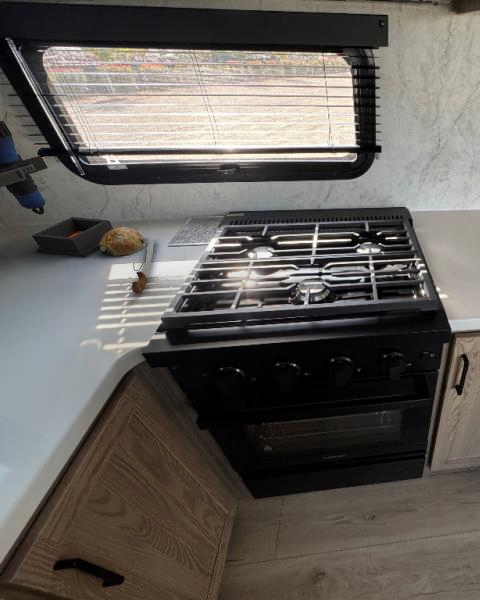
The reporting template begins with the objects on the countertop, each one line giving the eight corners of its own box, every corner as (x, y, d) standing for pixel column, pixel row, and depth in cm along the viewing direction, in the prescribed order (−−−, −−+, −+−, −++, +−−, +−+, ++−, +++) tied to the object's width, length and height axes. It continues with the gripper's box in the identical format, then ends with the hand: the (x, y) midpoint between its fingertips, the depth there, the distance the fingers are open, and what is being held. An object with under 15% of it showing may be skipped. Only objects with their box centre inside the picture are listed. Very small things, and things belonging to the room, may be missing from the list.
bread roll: (144, 264, 100) (147, 239, 97) (97, 259, 94) (99, 233, 91) (143, 249, 107) (146, 225, 104) (99, 244, 100) (101, 218, 97)
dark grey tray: (38, 253, 97) (26, 235, 94) (79, 232, 107) (69, 215, 104) (86, 258, 96) (74, 240, 92) (122, 236, 106) (113, 220, 102)
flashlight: (31, 209, 86) (-30, 120, 74) (67, 206, 87) (12, 118, 75) (9, 222, 80) (-62, 128, 68) (47, 219, 81) (-16, 126, 69)
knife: (136, 286, 79) (150, 228, 100) (129, 287, 79) (145, 228, 100) (145, 300, 82) (157, 241, 103) (138, 302, 82) (152, 242, 103)
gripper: (-69, 182, 59) (56, 146, 78) (-154, 174, 61) (-13, 141, 80) (-36, 222, 64) (75, 180, 82) (-116, 213, 66) (9, 174, 84)
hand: (32, 161), depth 81 cm, fingers closed on flashlight, 5 cm apart
